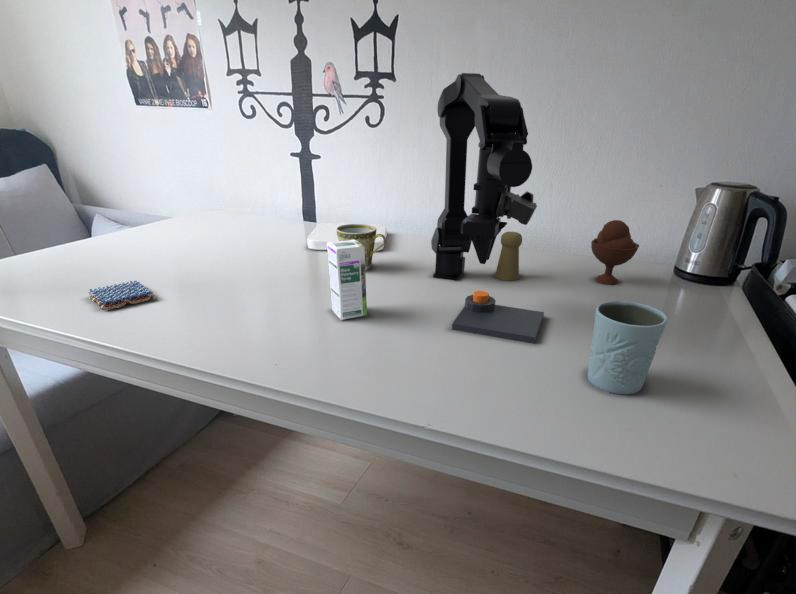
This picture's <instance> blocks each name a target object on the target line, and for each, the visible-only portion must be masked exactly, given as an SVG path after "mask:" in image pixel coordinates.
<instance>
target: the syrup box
mask: <svg viewBox="0 0 796 594" xmlns="http://www.w3.org/2000/svg"><path fill="white" fill-rule="evenodd" d="M326 251H327V262H328V263H327V264H328V272H329V285H330V286H329V287H330V299H331V310H332V312H333V314H335V315H336V316H337V317H338V318H339V319H340V320H341V321H344V320H348V319H354V318H360V317H361V318H362V317H367V316H368V306H367V305H368V304H367V302H368V301H367V277H366V271H365V249H364V246H363V245H362V244H361V243H360V242H358V241H356V240H354V239H353V240H348V241H339V242H328V243H327V250H326Z"/></svg>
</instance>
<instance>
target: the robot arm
mask: <svg viewBox="0 0 796 594" xmlns="http://www.w3.org/2000/svg"><path fill="white" fill-rule="evenodd" d="M437 116H438V118H439V127H440V129H441V131H442V133H443V135H444V137H445V139H446V143H445V144H446V145H445V147H446V149H445V150H446V151H445V183H444V184H445V186H444V208H443V210H442V212H441V213H440V214H439V216H438V218H437V224H436V227H435V230H434V231H433V235H432V238H431V240H430V242H431V244H430V245H431V250H432V251H433V252H434V253H435V268H434V270H435V271H434V272H433V274H432V277H434V278H440V279H441V278H442V279H447V280H455V281H457V280H459V279H460V278H461V277H462V276H463V275H464V274H465V267H466V257H465V256H464V254H465V253H467V254H468V253H470V249H471V245H473V248H474V250H475V253H476V256H477V260H478V262H479V264H480V265H485V264H486V263H487V261H489V260H490V257H491V255H492V252H493V248H494V245H495V242H496V239H497V236H498V235H499V234H500V233H501V231H502V230H503V229H504V228H505V227H506V226H507V225H508V222H506V221H501V220H502V218H503V217H506V220H511V219H514V220H516V221H518V223H519V224H521V225H524V226H527V225H528V223H529V222H530V221H531V219H532V217H533V215H534V213H535V211H536V209H537V207H538V205H537V203H536V202H534V194H533V193H532V192H529V191H525V192H524V193H522V195H520V194H518V193H517V194H516V193H514V192H512V191H511V190H512V188H517V187H520V186H522V185H524V184H525V183H526V182H527V181H528V180H529V178H530V176H531V174H532V172H533V162H532V158H531V156H530V155H529V153H528V151H525V150H524V145H527V144H528V136H529V131H528V128H527V124H526V119H525V114H524V109H523V107H522V103H521V102H520V100H519V99H518V98H516V97H513V96H507V95H501V94H499V93H498V92H497V91H496V90H495V89H494V88H493V87H492V86H491V85H490V84H489V82H487V81H486V80H485V76H484V75H483V74H481V73H477V72H476V73H475V72H461V73H460V74H457V76H456V78H455V80H454V81H453V82H451V83H450V84H449V85H447V86H446V87H444V88H443V89H442V91H441V93H440V96H439V99H438V102H437ZM474 129H475V130H476V133H477V136H478V139H479V142H478V148H479V150H478V162H477V172H476V173H477V175H476V182H475V183H473V191H475V197H474V205H473V206H472V207H471V213H470V214H469V215H468V214H467V212H466V210H465V201H466V182H467V181H466V179H467V157H468V156H467V155H468V140H469V137H470V136H471V134H472V133H473V131H474Z"/></svg>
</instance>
